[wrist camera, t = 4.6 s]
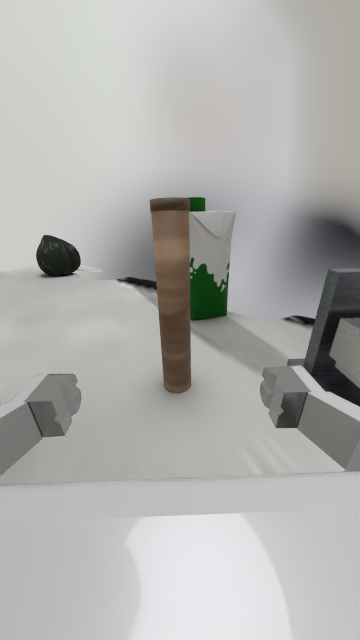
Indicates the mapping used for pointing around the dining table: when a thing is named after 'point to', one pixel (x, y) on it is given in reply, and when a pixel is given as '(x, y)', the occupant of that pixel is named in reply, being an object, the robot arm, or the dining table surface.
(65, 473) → the dining table surface
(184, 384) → the brown wooden rod
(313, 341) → the bracket
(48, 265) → the squash
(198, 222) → the milk carton
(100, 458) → the dining table surface
